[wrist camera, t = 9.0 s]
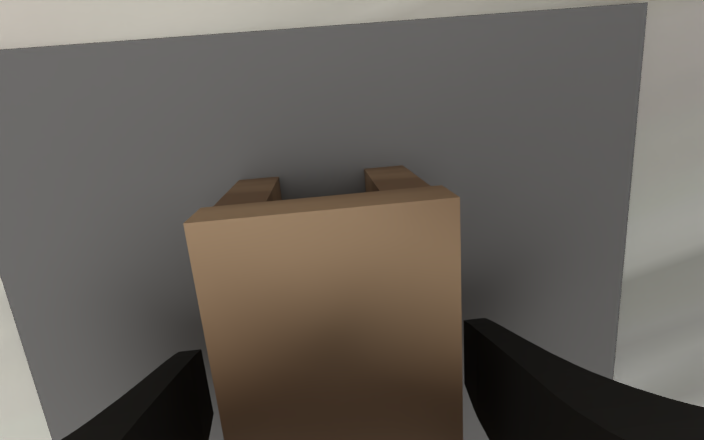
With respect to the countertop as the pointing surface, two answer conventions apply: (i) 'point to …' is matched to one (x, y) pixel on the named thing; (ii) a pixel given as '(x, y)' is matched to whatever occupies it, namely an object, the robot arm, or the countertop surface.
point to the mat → (313, 175)
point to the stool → (333, 310)
